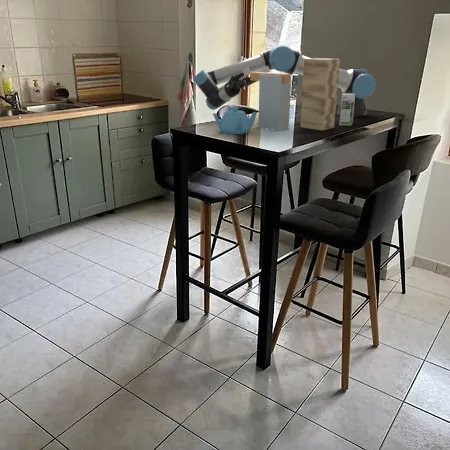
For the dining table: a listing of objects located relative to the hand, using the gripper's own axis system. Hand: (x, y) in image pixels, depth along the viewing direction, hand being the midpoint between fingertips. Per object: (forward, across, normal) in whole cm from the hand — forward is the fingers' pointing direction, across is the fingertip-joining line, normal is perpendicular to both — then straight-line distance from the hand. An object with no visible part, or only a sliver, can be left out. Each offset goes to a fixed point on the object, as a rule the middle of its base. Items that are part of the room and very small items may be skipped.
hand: (259, 69), depth 210 cm
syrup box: (+13, -30, -37) cm, 49 cm away
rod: (+3, 0, -7) cm, 8 cm away
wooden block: (+7, -15, -34) cm, 38 cm away
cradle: (-5, 0, -27) cm, 27 cm away
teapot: (-10, +19, -24) cm, 32 cm away
